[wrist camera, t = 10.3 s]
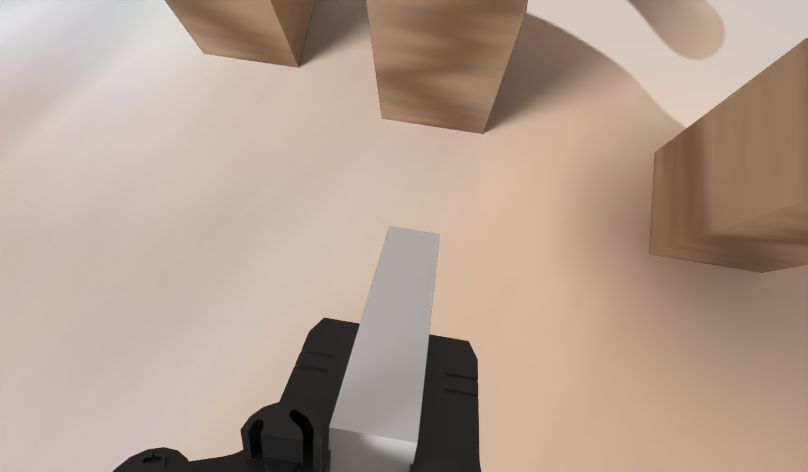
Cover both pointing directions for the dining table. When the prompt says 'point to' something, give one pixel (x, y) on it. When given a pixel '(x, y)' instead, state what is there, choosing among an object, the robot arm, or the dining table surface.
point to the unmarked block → (442, 58)
